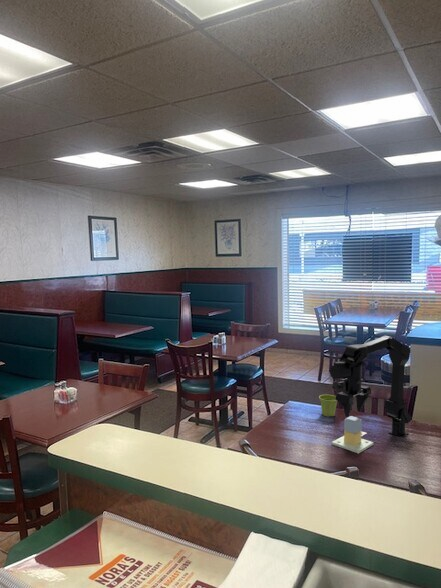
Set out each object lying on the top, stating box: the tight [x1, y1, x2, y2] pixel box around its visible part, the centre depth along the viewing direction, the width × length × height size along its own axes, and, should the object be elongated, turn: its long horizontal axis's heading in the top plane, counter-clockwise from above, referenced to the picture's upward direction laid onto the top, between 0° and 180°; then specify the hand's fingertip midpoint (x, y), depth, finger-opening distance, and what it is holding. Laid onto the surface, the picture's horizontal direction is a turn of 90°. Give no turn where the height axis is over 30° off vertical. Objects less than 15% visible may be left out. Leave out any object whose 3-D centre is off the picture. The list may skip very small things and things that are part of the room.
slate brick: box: [343, 415, 363, 434], centre depth 179 cm, size 5×5×5 cm
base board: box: [331, 435, 374, 455], centre depth 180 cm, size 12×12×1 cm
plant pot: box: [318, 394, 339, 418], centre depth 214 cm, size 9×9×9 cm
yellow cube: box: [343, 430, 363, 446], centre depth 180 cm, size 5×5×5 cm
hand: (353, 414), depth 179 cm, fingers open, 9 cm apart
